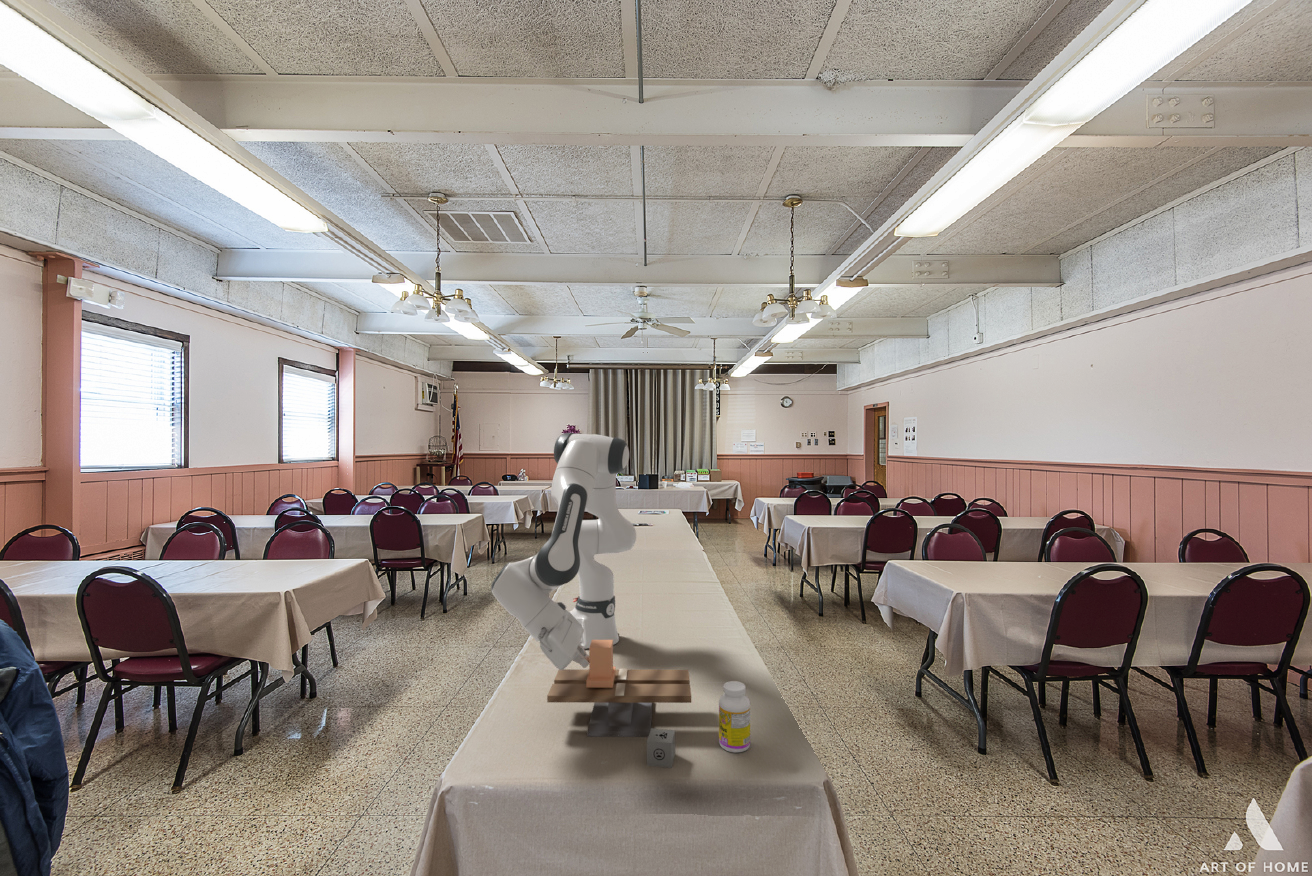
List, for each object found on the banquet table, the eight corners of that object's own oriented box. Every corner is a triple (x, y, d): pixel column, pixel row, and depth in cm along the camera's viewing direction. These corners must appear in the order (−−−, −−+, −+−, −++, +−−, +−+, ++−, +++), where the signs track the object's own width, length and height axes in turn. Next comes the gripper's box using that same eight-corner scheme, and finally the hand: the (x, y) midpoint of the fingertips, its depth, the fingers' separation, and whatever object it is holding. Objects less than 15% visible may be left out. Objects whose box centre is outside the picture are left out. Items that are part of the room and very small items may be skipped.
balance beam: (546, 736, 124) (546, 696, 124) (559, 701, 140) (559, 667, 140) (691, 736, 124) (691, 697, 124) (688, 702, 140) (688, 667, 140)
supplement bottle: (716, 737, 124) (716, 679, 124) (746, 736, 124) (745, 678, 124) (722, 755, 117) (722, 693, 117) (753, 753, 118) (753, 692, 117)
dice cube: (671, 768, 113) (671, 743, 113) (647, 765, 113) (646, 741, 113) (675, 754, 118) (674, 730, 117) (651, 752, 118) (651, 728, 118)
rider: (586, 693, 128) (586, 650, 128) (590, 678, 136) (590, 637, 136) (612, 693, 128) (612, 650, 128) (615, 678, 136) (615, 637, 136)
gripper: (546, 627, 122) (591, 673, 122) (563, 599, 142) (602, 638, 142) (526, 648, 122) (571, 693, 122) (545, 617, 143) (584, 656, 143)
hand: (588, 663), depth 132 cm, fingers closed, pressing on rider
